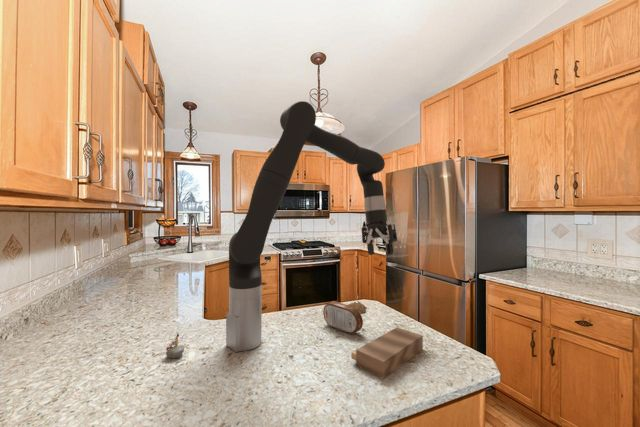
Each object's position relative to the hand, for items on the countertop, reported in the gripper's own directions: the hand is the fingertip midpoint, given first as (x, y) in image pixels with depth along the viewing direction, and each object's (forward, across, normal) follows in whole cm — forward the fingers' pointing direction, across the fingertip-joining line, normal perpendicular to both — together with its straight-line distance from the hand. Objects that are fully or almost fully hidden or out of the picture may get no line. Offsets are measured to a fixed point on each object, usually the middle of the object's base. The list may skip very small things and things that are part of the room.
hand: (380, 254), depth 99 cm
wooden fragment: (+22, -17, -2) cm, 28 cm away
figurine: (+20, -19, -64) cm, 69 cm away
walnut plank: (+25, +16, -18) cm, 34 cm away
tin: (+23, -6, -17) cm, 29 cm away
